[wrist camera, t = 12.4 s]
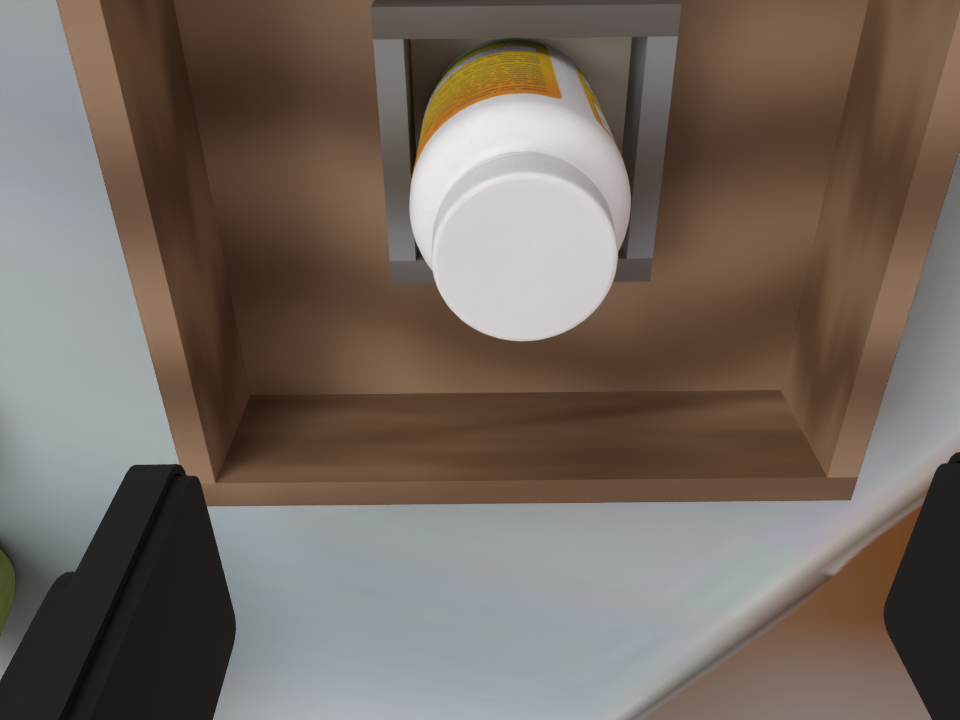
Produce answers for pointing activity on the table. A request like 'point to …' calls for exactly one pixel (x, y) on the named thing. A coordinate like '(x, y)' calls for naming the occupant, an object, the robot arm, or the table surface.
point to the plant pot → (6, 587)
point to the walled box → (410, 282)
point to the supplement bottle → (518, 191)
